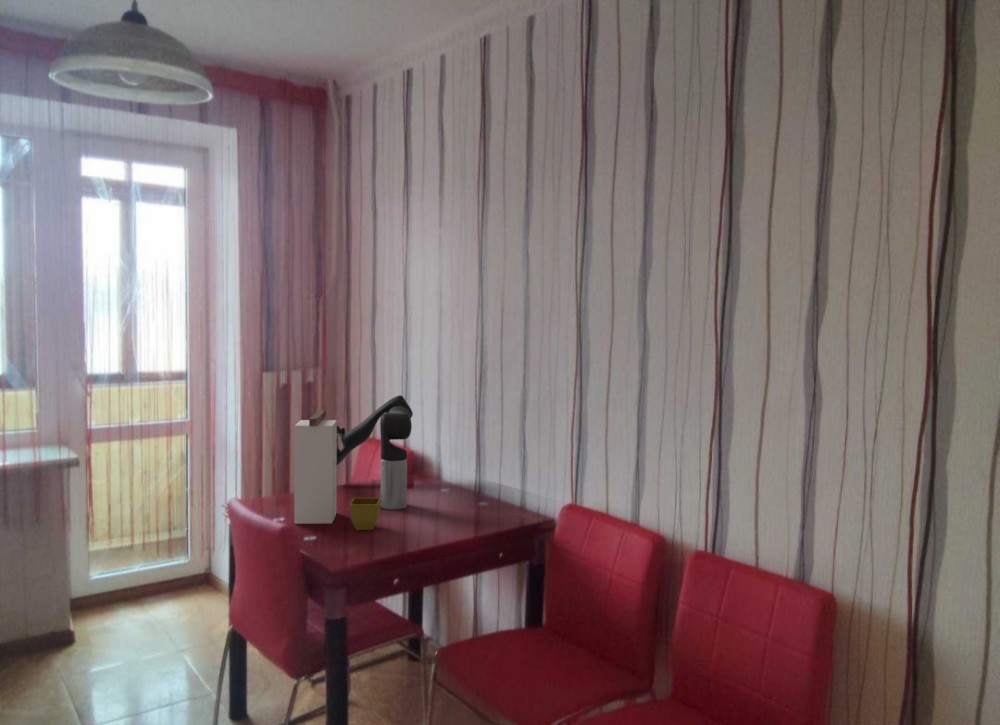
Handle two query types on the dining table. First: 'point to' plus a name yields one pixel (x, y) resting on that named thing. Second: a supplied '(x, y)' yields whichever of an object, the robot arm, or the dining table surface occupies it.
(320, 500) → the off-white column
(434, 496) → the dining table surface
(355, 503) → the flower pot
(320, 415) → the walnut bar
